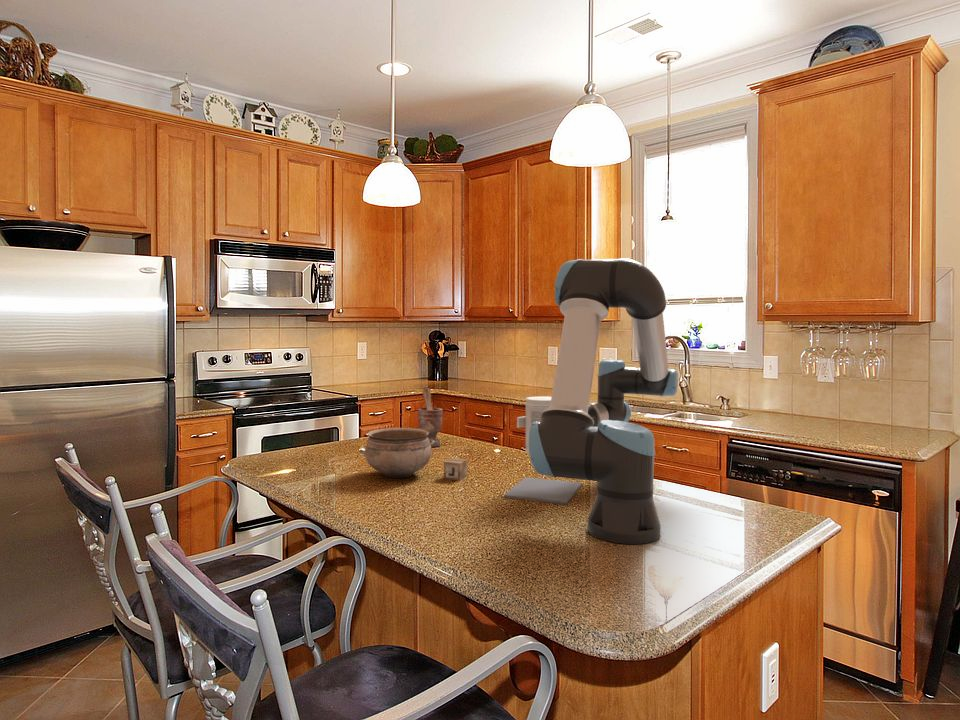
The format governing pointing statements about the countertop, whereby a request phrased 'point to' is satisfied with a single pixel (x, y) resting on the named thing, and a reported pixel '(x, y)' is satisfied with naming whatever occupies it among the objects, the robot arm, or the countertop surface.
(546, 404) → the supplement tub
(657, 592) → the countertop surface
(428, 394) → the mortar and pestle
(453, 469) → the lettered block
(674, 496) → the countertop surface
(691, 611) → the countertop surface
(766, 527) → the countertop surface
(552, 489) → the grey mat
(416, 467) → the cooking pot
